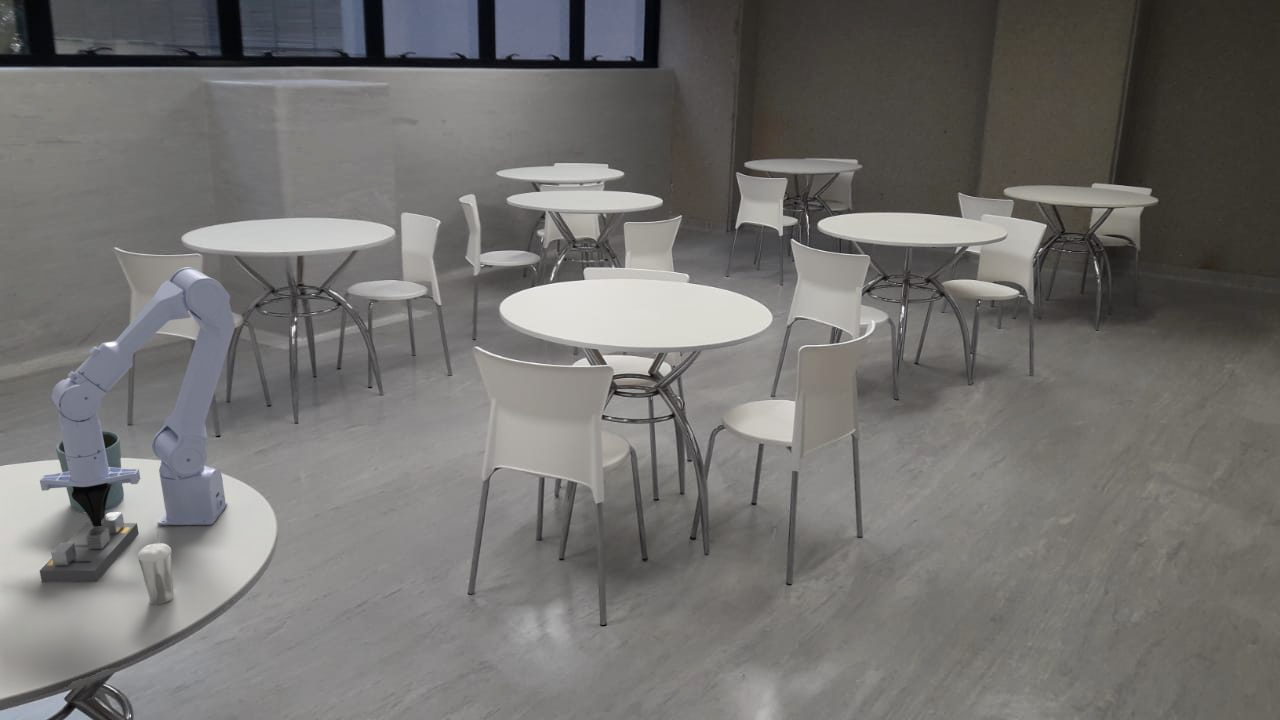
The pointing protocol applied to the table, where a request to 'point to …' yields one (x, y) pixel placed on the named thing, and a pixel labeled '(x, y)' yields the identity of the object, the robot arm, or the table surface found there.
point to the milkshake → (157, 571)
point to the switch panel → (90, 556)
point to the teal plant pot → (113, 461)
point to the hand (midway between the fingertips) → (99, 523)
